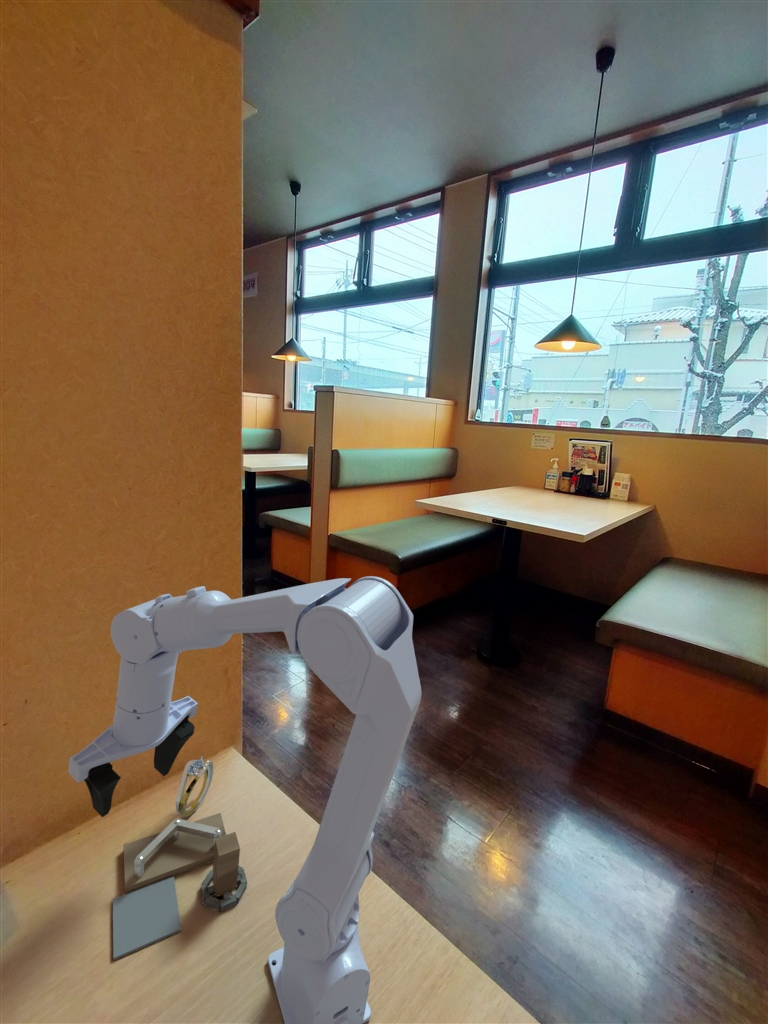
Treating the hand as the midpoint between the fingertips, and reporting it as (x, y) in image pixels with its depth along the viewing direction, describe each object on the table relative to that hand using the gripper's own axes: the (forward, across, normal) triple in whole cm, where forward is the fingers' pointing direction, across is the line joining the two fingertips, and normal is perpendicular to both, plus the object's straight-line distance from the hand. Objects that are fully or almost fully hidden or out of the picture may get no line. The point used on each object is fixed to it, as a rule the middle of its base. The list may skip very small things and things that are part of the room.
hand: (132, 789), depth 56 cm
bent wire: (+10, -4, +5) cm, 12 cm away
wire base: (+10, -4, +5) cm, 12 cm away
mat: (+10, +3, +9) cm, 13 cm away
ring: (+11, -10, +1) cm, 14 cm away
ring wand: (+9, -4, +13) cm, 17 cm away
